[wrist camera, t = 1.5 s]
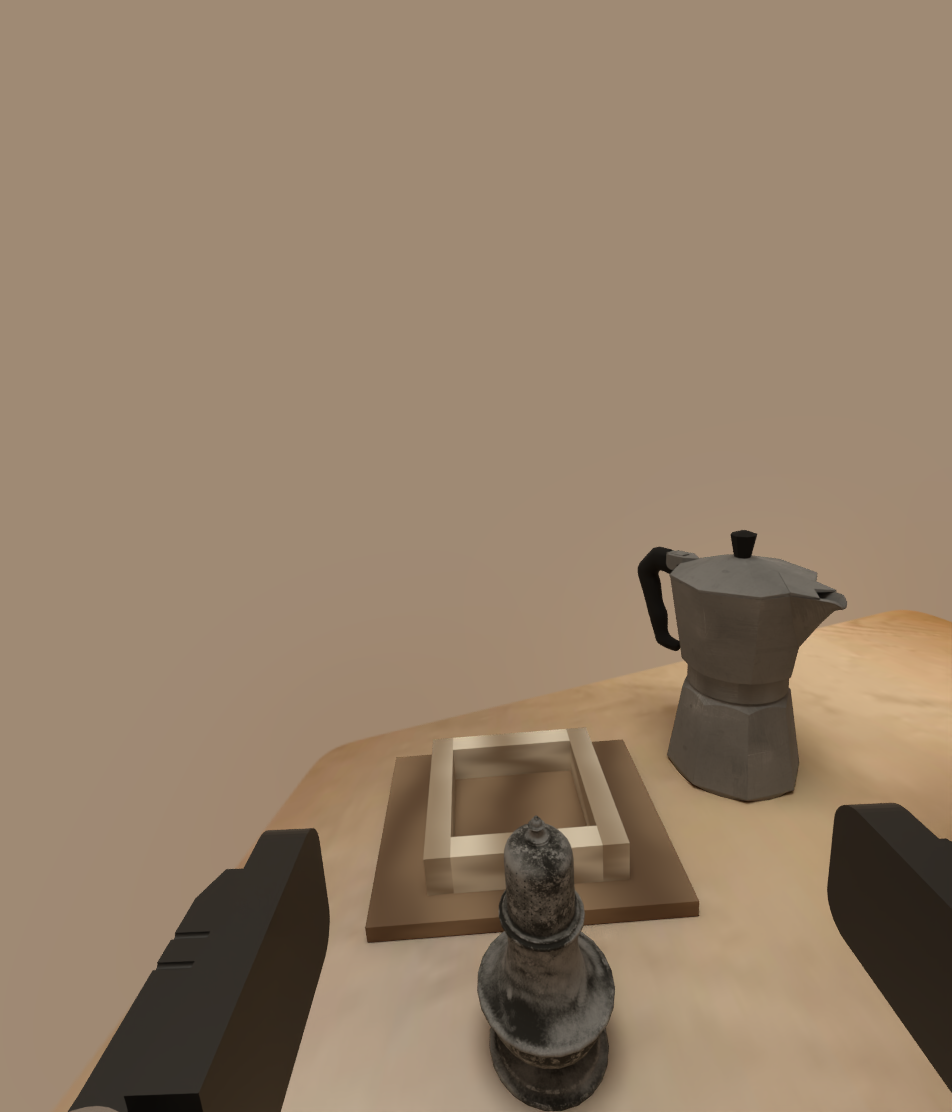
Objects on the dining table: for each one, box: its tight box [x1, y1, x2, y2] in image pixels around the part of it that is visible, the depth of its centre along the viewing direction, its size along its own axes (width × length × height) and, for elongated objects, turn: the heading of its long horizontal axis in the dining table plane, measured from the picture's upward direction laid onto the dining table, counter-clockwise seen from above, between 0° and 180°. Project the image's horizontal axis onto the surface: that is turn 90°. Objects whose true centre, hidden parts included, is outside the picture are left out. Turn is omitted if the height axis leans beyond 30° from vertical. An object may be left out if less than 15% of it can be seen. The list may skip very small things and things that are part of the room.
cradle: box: [365, 727, 699, 942], centre depth 38 cm, size 18×15×4 cm
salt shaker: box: [477, 815, 615, 1111], centre depth 24 cm, size 6×6×12 cm
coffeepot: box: [638, 530, 847, 801], centre depth 41 cm, size 15×9×18 cm, turn 34°
